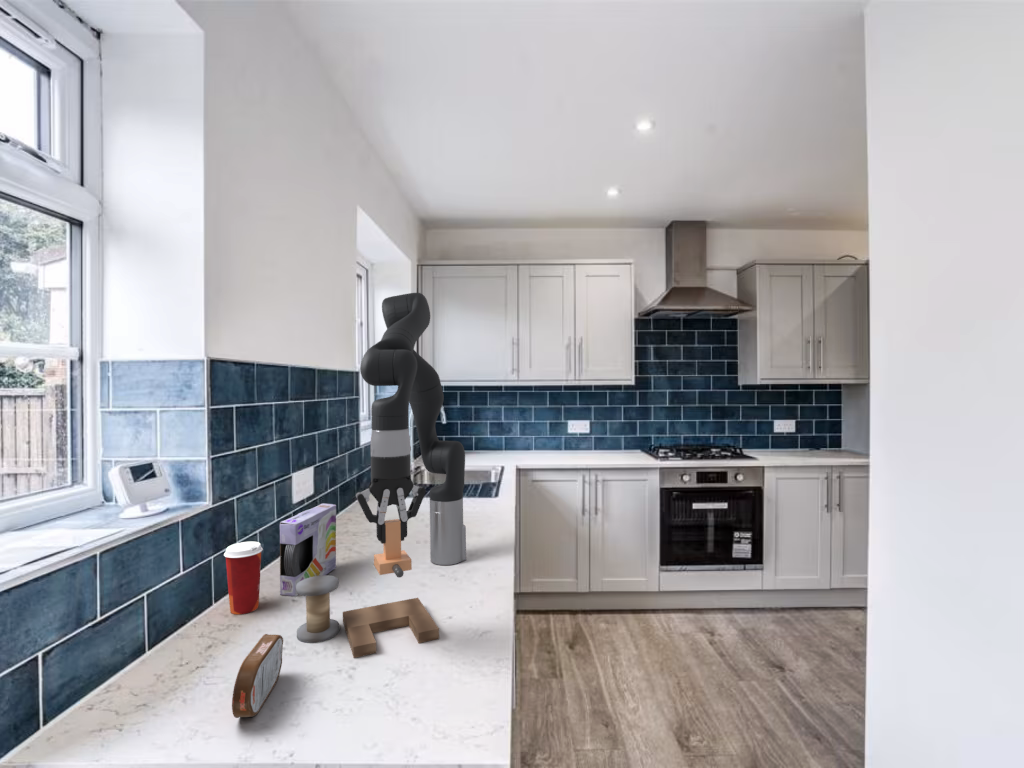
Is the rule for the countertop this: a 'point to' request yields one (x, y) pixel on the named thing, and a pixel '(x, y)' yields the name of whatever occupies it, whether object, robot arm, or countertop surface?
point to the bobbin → (317, 609)
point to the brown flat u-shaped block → (387, 624)
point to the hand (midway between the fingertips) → (392, 540)
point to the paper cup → (243, 576)
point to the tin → (257, 676)
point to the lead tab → (392, 552)
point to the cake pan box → (307, 546)
